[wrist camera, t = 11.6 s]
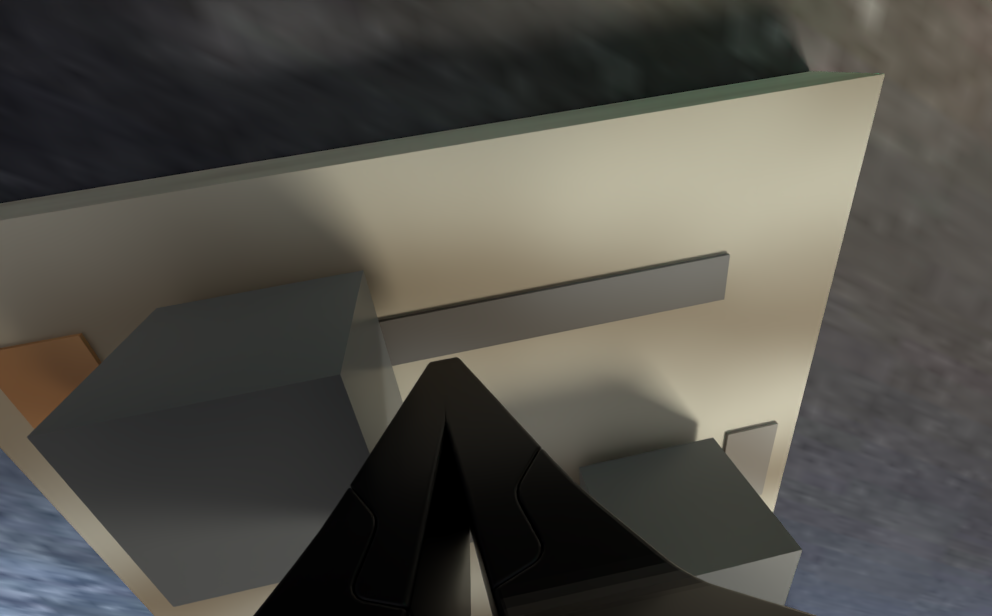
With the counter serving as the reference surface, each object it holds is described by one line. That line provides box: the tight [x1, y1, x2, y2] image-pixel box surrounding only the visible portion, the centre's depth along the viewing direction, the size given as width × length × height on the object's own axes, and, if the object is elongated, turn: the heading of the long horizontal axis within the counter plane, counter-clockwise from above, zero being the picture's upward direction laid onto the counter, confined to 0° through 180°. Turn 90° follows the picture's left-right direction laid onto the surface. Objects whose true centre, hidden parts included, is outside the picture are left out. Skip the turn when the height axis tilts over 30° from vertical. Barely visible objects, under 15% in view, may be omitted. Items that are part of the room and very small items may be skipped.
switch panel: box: [0, 71, 885, 616], centre depth 15 cm, size 22×20×2 cm
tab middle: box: [579, 438, 802, 606], centre depth 13 cm, size 4×4×4 cm
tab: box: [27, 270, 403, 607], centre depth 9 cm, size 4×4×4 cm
